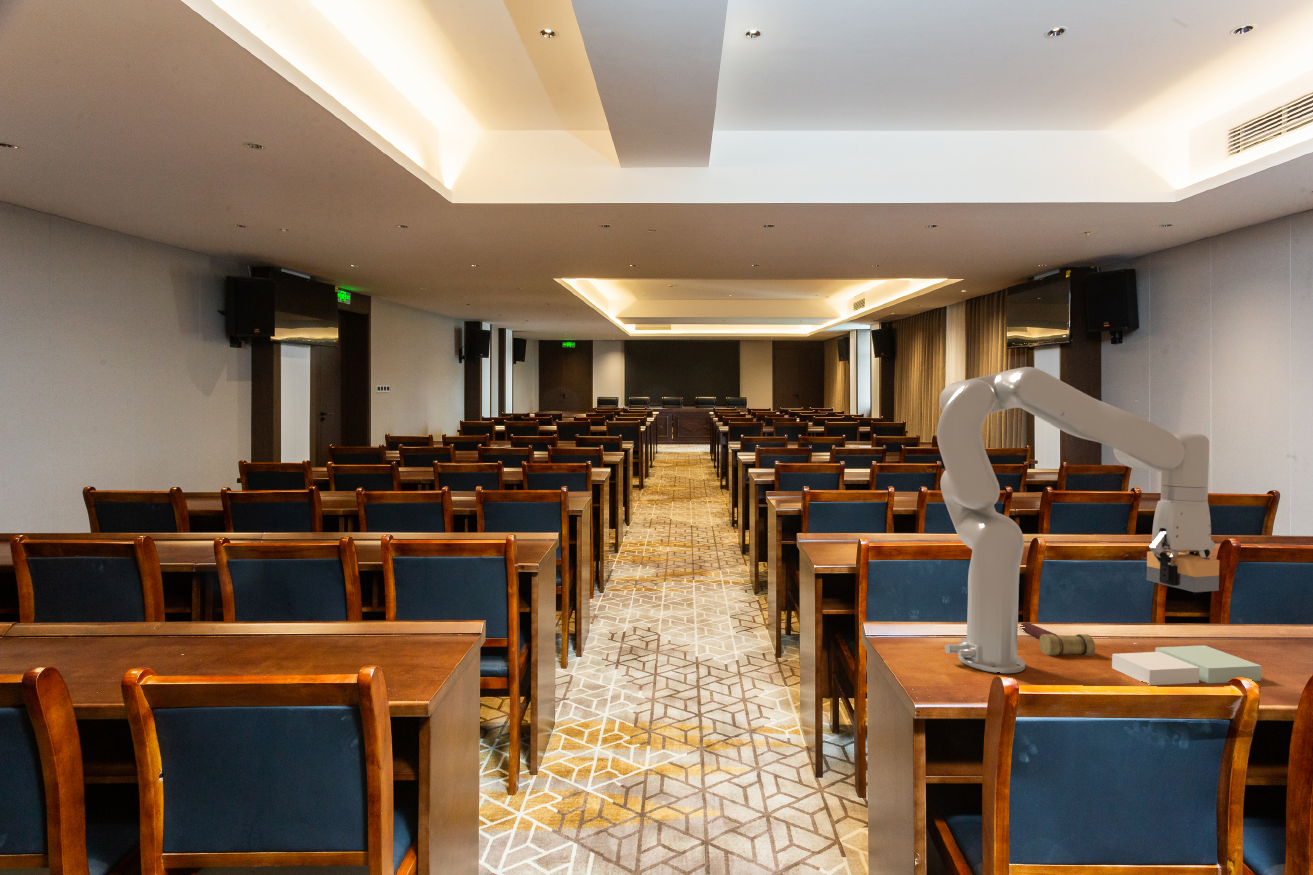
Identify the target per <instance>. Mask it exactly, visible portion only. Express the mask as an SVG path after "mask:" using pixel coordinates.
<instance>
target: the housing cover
mask: <svg viewBox="0 0 1313 875" xmlns="http://www.w3.org/2000/svg"><path fill="white" fill-rule="evenodd" d="M1170 554H1171V553H1168V552H1167V555H1168V556H1169V557H1170ZM1157 560H1158V559H1157V558H1156V557H1155V555H1154V553H1153V552H1152V551H1151V550H1150V551H1147V553H1146V567H1147V566H1149V567H1154V568H1158V569H1160V563H1158V561H1157ZM1174 566H1177V573H1180V574H1184V575H1188V576H1193V577H1203V576H1218V575H1219V576H1220V560H1219V559H1215V558H1210V557H1207V558H1206V557H1201V556H1196V555H1191V554H1187V552H1179V553H1178V556H1177V559H1176V562H1175V565H1174Z"/></svg>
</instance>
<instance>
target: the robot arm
mask: <svg viewBox="0 0 1313 875" xmlns="http://www.w3.org/2000/svg"><path fill="white" fill-rule="evenodd" d="M939 407H940V409H941V414H940V417H939V420H938V422H937V428H936V441H937V446H938V448H939V449H938V450H939V452H940V457H941V459H942V462H943V465H944V469H945V470H944V471H943V473H942V475H941V478H940V485H939V486H940V491H941V495H942V498H943V501H944V504H945V505H946V508H947V511H948V513H949V517H950V520H951V522H952V524H953V526H954V527H953V528H954V529H955V532H956V534H957V536H958V537H959V540H960V541H961V542H962V543H963V544H964V545H965V546H966V547H967V548H969V549H971V557H970V561H969V568H968V576H967V577H968V578H967V614H966V615H967V617H966V618H967V619H966V620H967V622H966V625H967V626H966V637H962V638H961V642H959V643H957V644H955V643H947V644H945V645H944V651H945V653H946V654H948V655H949V654H950V655H951V654H957V655H958V656H957V657H958V660H959V661H960V662H961V663H962V664H964V665H966V666H968V667H971V668H973V669H976V670H980V671H984V672H990V673H996V674H998V673H997V672H1000V673H999V674H1016V673H1019V672H1022V671H1024V670H1025V669H1026V661H1025V660H1024V659H1023V658H1021V657H1020V656H1019V655H1018V627H1019V626H1018V624H1019V594H1020V593H1019V592H1020V591H1019V590H1020V589H1019V588H1020V587H1019V586H1020V585H1019V584H1020V571H1021V570H1020V569H1021V564H1022V559H1023V558H1022V557H1023V554H1024V549H1025V540H1024V534H1023V532H1022V530H1021V527H1020V526H1019V525H1018V524H1017V522H1016V521H1015V520H1013V519H1012V518H1010V517H1009V516H1008V515H1005V514H1002V513H999V512H997V510H996V508H995V504H996V503H998V501H999V498H1000V494H1001V489H1000V483H999V481H998V479H997V476H996V474H995V472H994V469H993V466H992V463H991V462H990V459H989V457H988V454H987V451H986V447H985V445H984V441H983V437H982V431H983V430H982V428H983V425H984V422H985V420H986V418H987V417H988V416H989V415H990V414H993V413H998V412H999V413H1000V412H1002V411H1007V410H1010V409H1016V408H1017V409H1019V408H1020V409H1022V410H1024V411H1026V412H1027V413H1029V414H1031V415H1033V416H1035V417H1037V418H1039V419H1041V420H1043V421H1044V422H1046V423H1048V424H1049V425H1051V426H1053V427H1055V428H1056V429H1058V430H1061V431H1062V432H1064V433H1065V434H1069V435H1071V436H1074V437H1076V438H1080V439H1082V440H1087V441H1092V442H1096V443H1100V444H1103V445H1106V446H1108V447H1111V448H1113V455H1114V458H1115V459H1116V460H1117V461H1118V463H1120V464H1122V465H1123V466H1125V467H1128V468H1131V469H1138V470H1148V471H1154V472H1160V473H1161V475H1160V500H1158V501H1157V503H1156V507H1155V511H1154V517H1153V523H1152V530H1151V531H1152V532H1151V534H1152V535H1151V543H1150V545H1149V547H1148V548H1149V550H1150V552H1151V551H1152V552H1153V553H1154V555H1155V557H1156V558H1157V559H1158V560H1157V561H1158V563H1160V582H1161V583H1164V584H1168V585H1172V586H1176V585H1177V566H1174V565H1175V562H1176V559H1177V556H1178V553H1179V552H1181V553H1186V554H1191V555H1196V556H1201V557H1206V558H1209V556H1210V554H1211V552H1212V551H1213V549H1214V548H1215V546H1216V543H1215V542H1214V541H1213V540H1212V523H1211V513H1210V506H1209V501H1208V498H1209V470H1210V468H1209V467H1210V465H1209V464H1210V463H1209V462H1210V461H1209V460H1210V441H1209V437H1207V436H1206V435H1204V434H1201V433H1200V434H1199V433H1172V432H1169V431H1168V430H1167V429H1165V428H1163V427H1161V426H1159V425H1157V424H1155V423H1153V422H1151V421H1149V420H1147V419H1145V418H1143V417H1141V416H1139V415H1136V414H1134V413H1132V412H1128V411H1126V410H1123V409H1121V408H1119V407H1116V406H1115V405H1112V404H1109V403H1107V402H1105V401H1101V400H1100V399H1097V398H1094V397H1092V396H1091V395H1088V394H1087V393H1086V392H1085V393H1084V392H1083V391H1081V390H1079V389H1077V388H1075V387H1074V386H1071V385H1070V384H1068V383H1066V382H1065V381H1062V380H1061V379H1058V378H1057V377H1055V376H1053V375H1052V374H1049V373H1048V372H1046V371H1043V370H1042V369H1040V368H1037V367H1033V366H1023V367H1017V368H1013V369H1008V370H1007V369H1006V370H1003V371H1000V372H996V373H992V374H988V375H984V376H979V377H973V378H969V379H964V380H960V381H955V382H952V383H950V384H948V385H947V386H946V387H944V389H942V391H941V393H940V395H939ZM1167 552H1168V553H1171V554H1170V557H1169V556H1168V555H1167Z"/></svg>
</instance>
